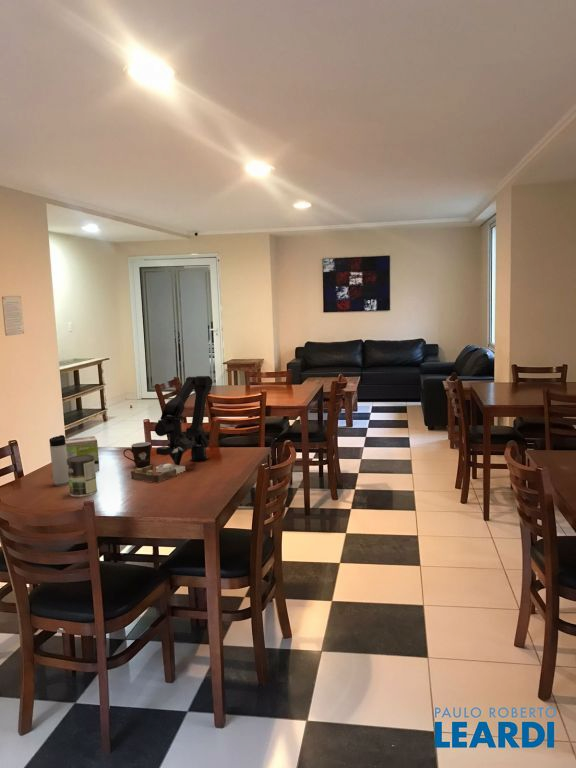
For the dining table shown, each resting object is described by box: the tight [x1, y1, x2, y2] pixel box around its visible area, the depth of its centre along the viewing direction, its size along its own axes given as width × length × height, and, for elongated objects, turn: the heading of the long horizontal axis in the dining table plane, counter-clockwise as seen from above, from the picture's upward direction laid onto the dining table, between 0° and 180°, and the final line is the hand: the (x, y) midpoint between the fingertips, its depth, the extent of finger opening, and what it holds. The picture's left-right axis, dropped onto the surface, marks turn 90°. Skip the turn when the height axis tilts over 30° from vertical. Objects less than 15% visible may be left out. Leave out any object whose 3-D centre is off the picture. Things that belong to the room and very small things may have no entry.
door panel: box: [155, 463, 186, 475], centre depth 267 cm, size 7×11×4 cm, turn 52°
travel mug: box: [49, 434, 69, 487], centre depth 256 cm, size 6×7×20 cm
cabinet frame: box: [130, 464, 178, 483], centre depth 259 cm, size 11×15×4 cm
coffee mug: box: [122, 441, 152, 469], centre depth 279 cm, size 12×9×10 cm
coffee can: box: [67, 455, 98, 498], centre depth 242 cm, size 10×10×14 cm
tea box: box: [65, 435, 100, 473], centre depth 274 cm, size 15×10×15 cm
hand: (177, 466), depth 270 cm, fingers closed
